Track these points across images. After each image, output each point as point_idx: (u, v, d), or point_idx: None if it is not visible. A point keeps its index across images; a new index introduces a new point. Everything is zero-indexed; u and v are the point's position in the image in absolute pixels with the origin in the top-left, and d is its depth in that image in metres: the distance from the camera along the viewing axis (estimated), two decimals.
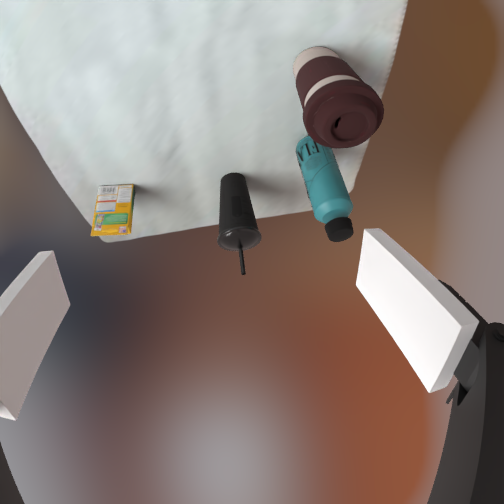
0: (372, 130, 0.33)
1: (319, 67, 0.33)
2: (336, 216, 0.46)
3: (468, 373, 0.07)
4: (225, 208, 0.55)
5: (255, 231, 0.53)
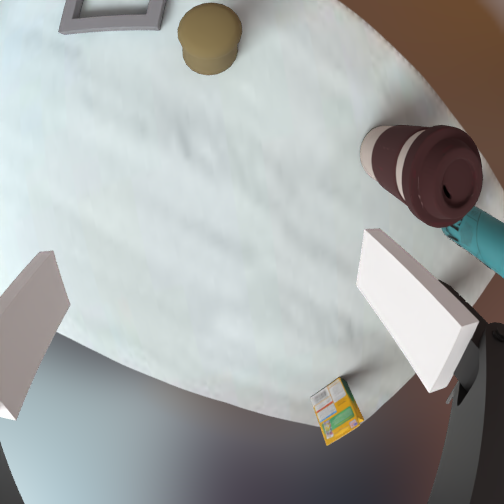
0: (478, 161, 0.22)
1: (383, 157, 0.29)
2: None
3: (468, 373, 0.07)
4: None
5: None
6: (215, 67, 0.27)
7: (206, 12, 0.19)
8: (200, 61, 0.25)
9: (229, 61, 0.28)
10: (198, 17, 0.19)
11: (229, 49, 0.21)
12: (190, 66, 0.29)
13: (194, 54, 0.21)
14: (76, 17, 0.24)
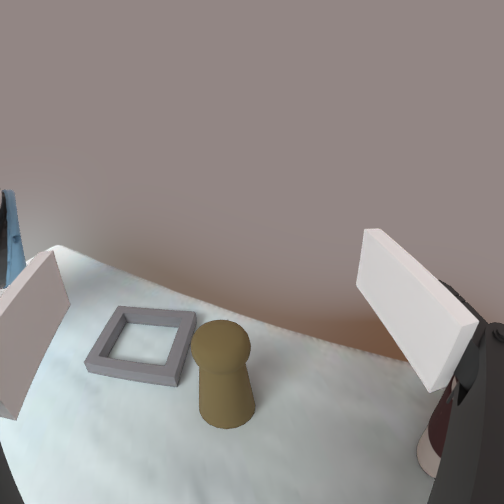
0: None
1: (441, 425, 0.19)
2: None
3: (468, 373, 0.07)
4: None
5: None
6: (232, 408, 0.27)
7: (216, 323, 0.27)
8: (215, 393, 0.26)
9: (246, 405, 0.28)
10: (209, 326, 0.26)
11: (240, 355, 0.25)
12: (207, 417, 0.28)
13: (206, 361, 0.24)
14: None
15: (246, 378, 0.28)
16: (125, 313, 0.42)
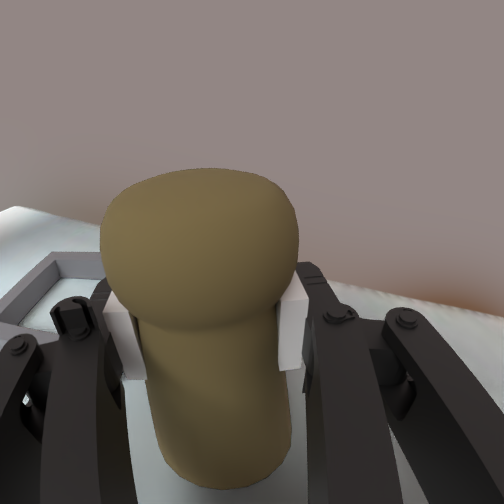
0: None
1: None
2: None
3: (310, 361, 0.08)
4: None
5: None
6: (237, 446, 0.09)
7: None
8: (182, 403, 0.08)
9: (276, 433, 0.10)
10: (163, 174, 0.08)
11: (270, 245, 0.06)
12: (172, 461, 0.10)
13: (133, 269, 0.06)
14: None
15: None
16: (57, 261, 0.24)
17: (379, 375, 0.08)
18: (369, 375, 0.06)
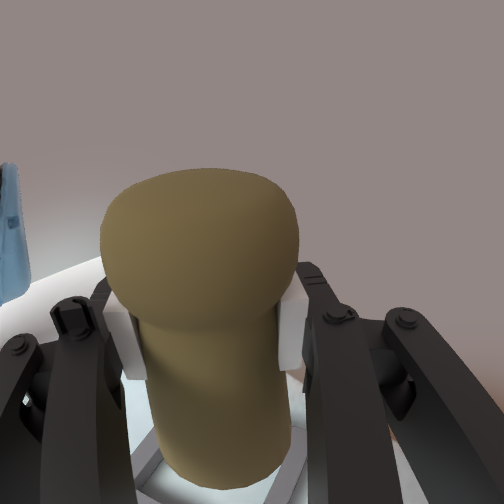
0: None
1: None
2: None
3: (310, 361, 0.08)
4: None
5: None
6: (237, 447, 0.09)
7: None
8: (182, 403, 0.08)
9: (277, 433, 0.10)
10: (164, 174, 0.08)
11: (270, 245, 0.06)
12: (172, 461, 0.10)
13: (133, 269, 0.06)
14: (137, 485, 0.17)
15: None
16: None
17: (379, 375, 0.08)
18: (369, 375, 0.06)
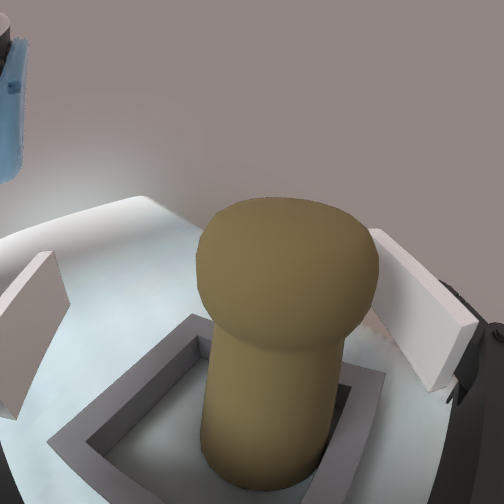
0: None
1: None
2: None
3: (468, 373, 0.07)
4: None
5: None
6: (294, 450, 0.09)
7: (277, 197, 0.09)
8: (257, 413, 0.09)
9: (324, 438, 0.11)
10: (257, 201, 0.09)
11: (368, 280, 0.07)
12: (220, 465, 0.11)
13: (254, 297, 0.07)
14: (101, 446, 0.11)
15: (339, 369, 0.10)
16: (200, 338, 0.18)
17: None
18: None
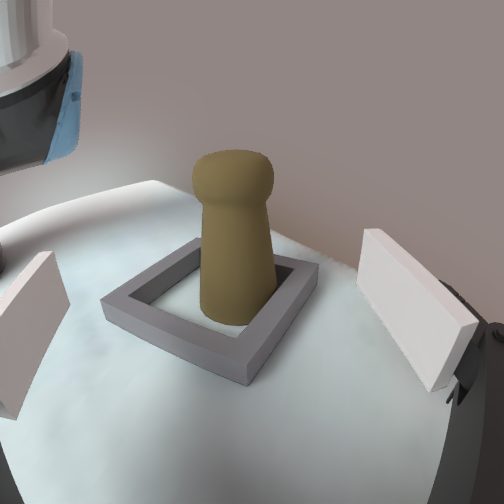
0: None
1: None
2: None
3: (468, 373, 0.07)
4: None
5: None
6: (249, 281, 0.20)
7: None
8: (224, 250, 0.19)
9: (269, 281, 0.21)
10: None
11: (262, 172, 0.18)
12: (211, 307, 0.21)
13: (214, 179, 0.17)
14: None
15: (268, 233, 0.21)
16: None
17: None
18: None
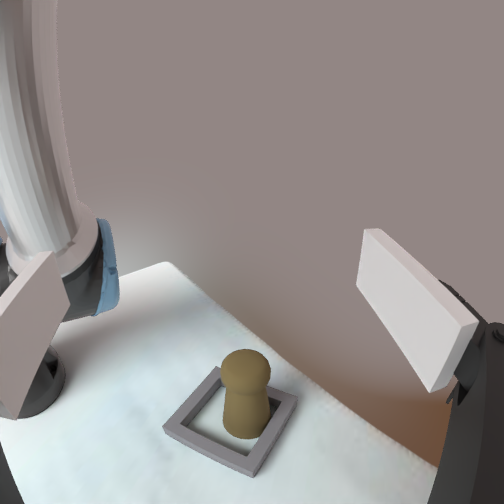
0: None
1: None
2: None
3: (468, 373, 0.07)
4: None
5: None
6: (254, 422, 0.31)
7: (241, 353, 0.31)
8: (241, 410, 0.31)
9: (266, 418, 0.33)
10: (235, 356, 0.31)
11: (263, 379, 0.29)
12: (231, 430, 0.33)
13: (236, 386, 0.29)
14: (183, 425, 0.33)
15: (266, 396, 0.32)
16: None
17: None
18: None
